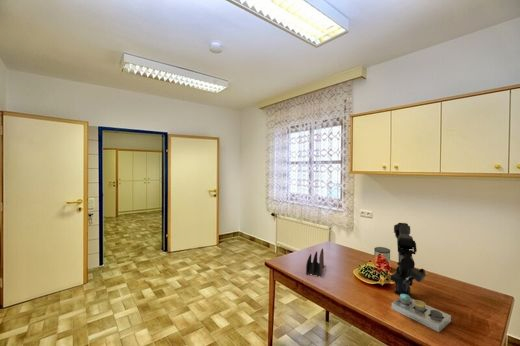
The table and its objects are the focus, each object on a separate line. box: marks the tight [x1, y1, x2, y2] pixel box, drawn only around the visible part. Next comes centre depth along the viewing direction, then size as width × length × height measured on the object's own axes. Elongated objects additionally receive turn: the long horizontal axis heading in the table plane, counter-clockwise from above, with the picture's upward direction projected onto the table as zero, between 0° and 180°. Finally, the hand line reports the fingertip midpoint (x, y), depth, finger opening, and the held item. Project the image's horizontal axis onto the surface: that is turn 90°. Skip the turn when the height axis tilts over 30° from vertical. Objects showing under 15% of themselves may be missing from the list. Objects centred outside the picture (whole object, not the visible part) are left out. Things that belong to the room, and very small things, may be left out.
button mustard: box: [414, 299, 427, 313], centre depth 119 cm, size 5×5×4 cm
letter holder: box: [305, 248, 325, 277], centre depth 171 cm, size 10×20×14 cm, turn 159°
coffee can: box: [374, 246, 391, 265], centre depth 171 cm, size 10×10×14 cm
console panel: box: [391, 297, 452, 333], centre depth 119 cm, size 21×13×3 cm, turn 33°
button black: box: [430, 310, 442, 321], centre depth 113 cm, size 5×5×4 cm
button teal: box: [399, 294, 411, 306], centre depth 125 cm, size 5×5×4 cm
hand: (405, 291), depth 124 cm, fingers closed
